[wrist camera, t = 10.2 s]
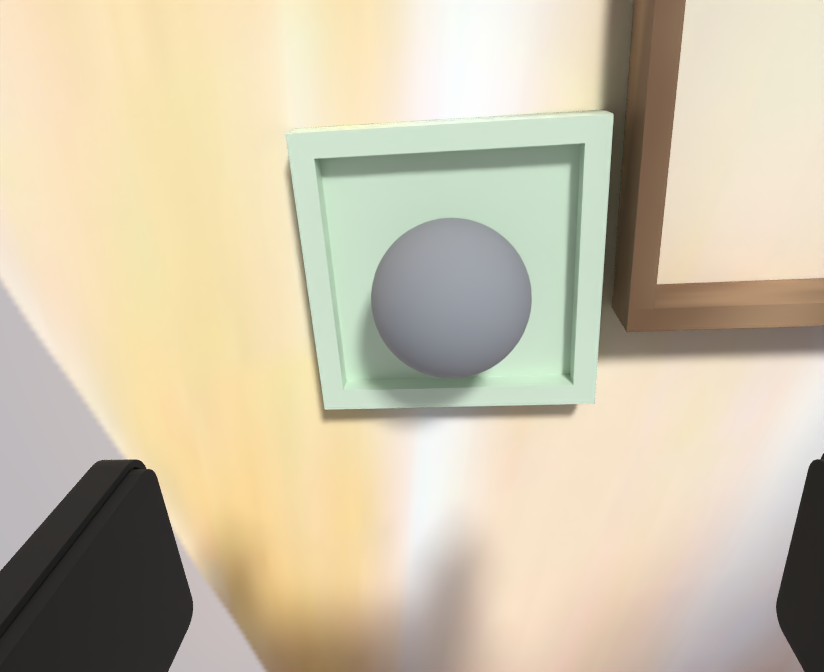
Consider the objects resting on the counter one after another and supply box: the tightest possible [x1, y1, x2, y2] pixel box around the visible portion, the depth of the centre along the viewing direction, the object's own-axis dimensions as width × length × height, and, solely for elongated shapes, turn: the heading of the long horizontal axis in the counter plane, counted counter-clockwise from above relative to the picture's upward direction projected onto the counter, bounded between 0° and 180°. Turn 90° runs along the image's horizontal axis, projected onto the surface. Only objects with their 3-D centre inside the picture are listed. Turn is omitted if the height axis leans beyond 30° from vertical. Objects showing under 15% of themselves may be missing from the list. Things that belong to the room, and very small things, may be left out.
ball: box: [371, 218, 532, 379], centre depth 20 cm, size 5×5×5 cm
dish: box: [286, 110, 614, 410], centre depth 22 cm, size 10×10×1 cm
